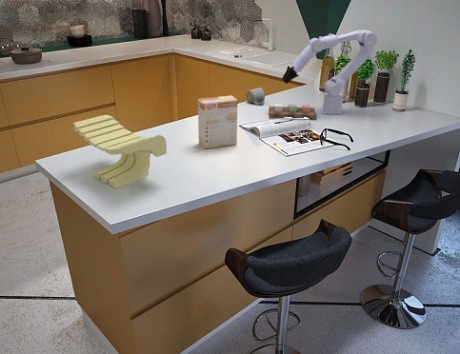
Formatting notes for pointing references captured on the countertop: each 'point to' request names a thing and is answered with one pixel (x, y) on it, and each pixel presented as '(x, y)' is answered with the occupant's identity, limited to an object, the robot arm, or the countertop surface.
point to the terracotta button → (306, 108)
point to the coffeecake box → (217, 121)
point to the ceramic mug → (255, 96)
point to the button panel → (291, 113)
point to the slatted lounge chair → (120, 149)
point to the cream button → (278, 107)
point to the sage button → (292, 108)
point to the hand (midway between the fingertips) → (283, 81)
